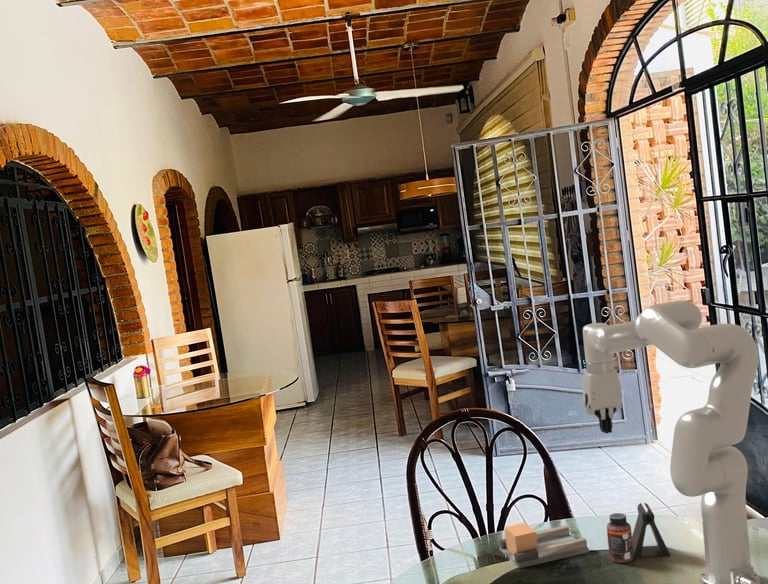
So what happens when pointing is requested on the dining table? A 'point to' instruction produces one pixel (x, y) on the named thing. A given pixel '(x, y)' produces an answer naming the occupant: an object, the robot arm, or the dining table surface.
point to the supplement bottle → (619, 539)
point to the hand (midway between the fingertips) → (606, 431)
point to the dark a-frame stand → (639, 534)
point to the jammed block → (520, 538)
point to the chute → (548, 547)
